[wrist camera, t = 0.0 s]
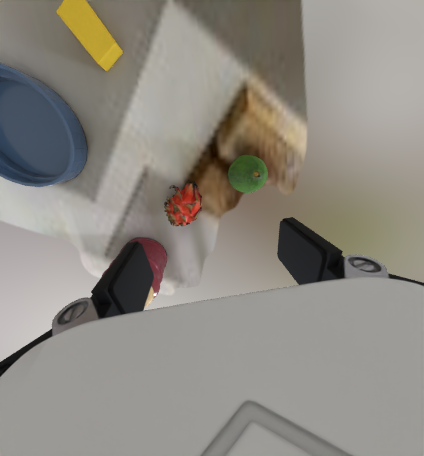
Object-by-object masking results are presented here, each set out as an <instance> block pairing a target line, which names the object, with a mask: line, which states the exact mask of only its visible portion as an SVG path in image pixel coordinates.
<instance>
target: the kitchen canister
mask: <svg viewBox="0 0 424 456" xmlns="http://www.w3.org/2000/svg"><path fill="white" fill-rule="evenodd" d="M135 241H138V242H139V243H142V245H143V248H144V250H145V253H146V255H147V258H148V261H149V263H150V266H151V268H152V271H153V273H154V280H153V283H152V286H151V289H150V292H149V295H148V298H147V301H146V304H145V307H146V306H148V305H149V304H150V303H151V302H152V300H153V298H154V297H155V296H156V295H157V294H158V292H159V289H160V283H161V281H162V278H163V272H164V268H165V266H166V263H167V254H166V251H165V249H164V248H163V246H162V245H161V244H159V243H158V242H156V241H154V240H152V239H148V238H137V239H134V240H131V241H130V242H135ZM125 246H126V245H125ZM125 246H124V247H125ZM124 247H123V248H124ZM123 248H122V249H121V251H122V250H123ZM121 251H120V252H121ZM119 254H120V253H119ZM116 258H117V257H116ZM113 262H114V260H113V261H112V263H113ZM112 263H111V264H112ZM111 264H110V266H111ZM110 266H109V267H110ZM107 270H108V269H107ZM107 270H106V271H107ZM106 271H105V272H106ZM105 272H104V273H103V275H104V274H105ZM103 275H102V276H103ZM101 278H102V277H101Z"/></svg>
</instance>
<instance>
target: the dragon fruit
mask: <svg viewBox="0 0 424 456" xmlns="http://www.w3.org/2000/svg"><path fill="white" fill-rule="evenodd" d="M193 183H194V188H193V185H192V181H191V182H190V183H187V184H186V186H185V188H184V189H183V190H182V191H180V190H179V188H178V187H175V186H174V185H173V186H171V187H170V188H175V191H176V194H175V195H173V198H171V197H167V200H168V201H167V202H165V203H164V205H165V206H164V207H165V209H166V210H165V211H164V212H167V214H166V215H167V216H168V220H169V221H170V223H171V225H172V223H173V225H174V226H179V225H181V226H185V225H187V224H190V223H191V221H194V220H196V219H197V216H198V214H199V213H200V211H202V207H201V206H202V199H201V198H202V196H200V193H199V190H198V186H197V185H196V184H195V182H194V181H193ZM170 200H171V201H170ZM166 204H169V206H166Z"/></svg>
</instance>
